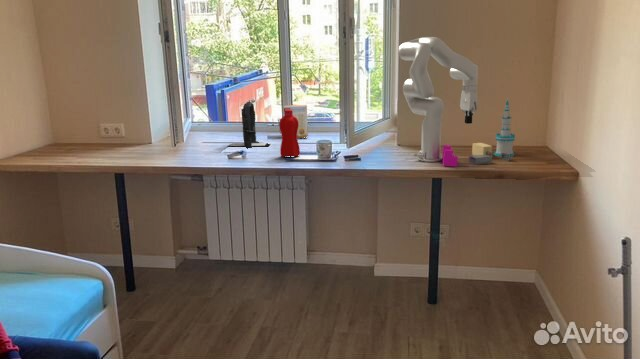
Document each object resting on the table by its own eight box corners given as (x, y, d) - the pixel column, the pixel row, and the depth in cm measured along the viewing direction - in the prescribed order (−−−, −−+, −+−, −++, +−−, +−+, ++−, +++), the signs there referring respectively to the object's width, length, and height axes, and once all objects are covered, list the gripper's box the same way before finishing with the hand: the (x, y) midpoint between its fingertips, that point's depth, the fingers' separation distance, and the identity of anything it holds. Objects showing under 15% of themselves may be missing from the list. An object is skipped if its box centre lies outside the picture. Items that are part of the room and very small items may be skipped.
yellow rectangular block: (485, 159, 271) (486, 147, 270) (472, 154, 282) (472, 143, 281) (493, 158, 273) (494, 146, 271) (480, 153, 284) (480, 142, 282)
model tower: (515, 156, 274) (519, 97, 266) (495, 156, 276) (498, 97, 268) (512, 152, 284) (516, 95, 276) (493, 152, 286) (496, 95, 278)
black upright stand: (234, 142, 335) (230, 96, 328) (274, 141, 333) (272, 95, 326) (220, 152, 304) (217, 102, 297) (265, 152, 302) (262, 101, 295)
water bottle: (286, 153, 296) (284, 108, 290) (302, 155, 290) (300, 109, 284) (275, 156, 289) (273, 110, 283) (291, 158, 283) (289, 111, 277)
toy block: (457, 166, 256) (458, 151, 254) (443, 165, 257) (444, 150, 255) (454, 160, 271) (456, 145, 269) (442, 159, 272) (443, 145, 270)
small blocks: (475, 164, 260) (475, 158, 259) (468, 162, 265) (469, 155, 264) (511, 161, 265) (511, 154, 264) (503, 158, 271) (504, 152, 270)
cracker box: (308, 137, 343) (307, 104, 338) (306, 139, 337) (305, 105, 332) (286, 137, 345) (285, 104, 340) (284, 139, 339) (283, 106, 334)
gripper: (455, 87, 289) (454, 121, 294) (471, 90, 275) (469, 125, 279) (468, 87, 291) (466, 120, 296) (484, 89, 277) (482, 124, 282)
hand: (468, 123), depth 287 cm, fingers closed
